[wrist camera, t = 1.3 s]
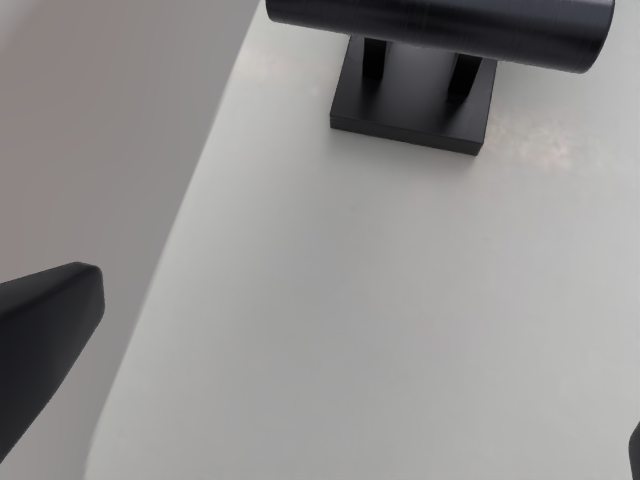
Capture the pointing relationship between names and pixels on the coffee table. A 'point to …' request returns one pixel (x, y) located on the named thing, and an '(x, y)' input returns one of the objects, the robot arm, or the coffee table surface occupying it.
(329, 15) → the lever
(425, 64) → the bracket
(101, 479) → the coffee table surface
